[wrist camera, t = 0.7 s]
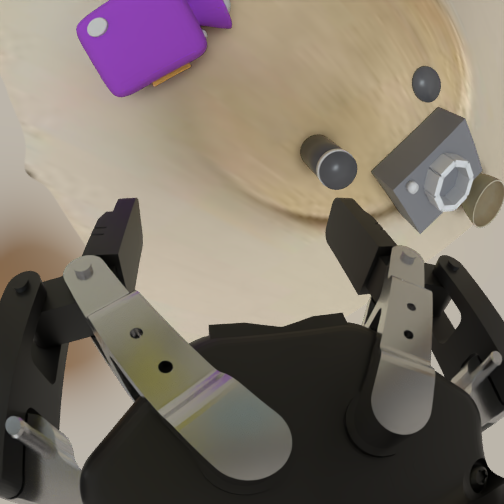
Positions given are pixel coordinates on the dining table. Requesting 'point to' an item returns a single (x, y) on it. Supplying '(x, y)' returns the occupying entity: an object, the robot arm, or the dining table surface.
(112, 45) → the toy camera
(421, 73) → the grey dome
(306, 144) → the lens
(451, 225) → the dining table surface
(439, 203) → the camera body
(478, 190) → the flower pot
